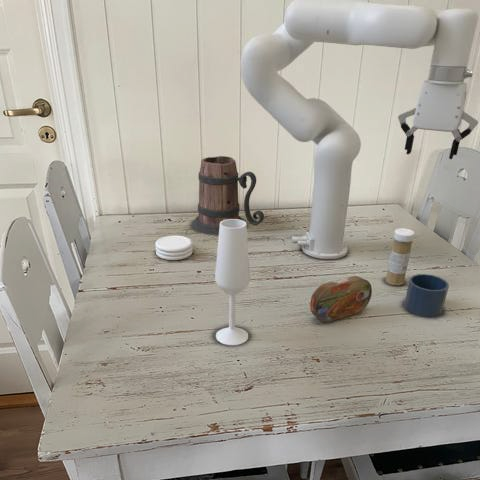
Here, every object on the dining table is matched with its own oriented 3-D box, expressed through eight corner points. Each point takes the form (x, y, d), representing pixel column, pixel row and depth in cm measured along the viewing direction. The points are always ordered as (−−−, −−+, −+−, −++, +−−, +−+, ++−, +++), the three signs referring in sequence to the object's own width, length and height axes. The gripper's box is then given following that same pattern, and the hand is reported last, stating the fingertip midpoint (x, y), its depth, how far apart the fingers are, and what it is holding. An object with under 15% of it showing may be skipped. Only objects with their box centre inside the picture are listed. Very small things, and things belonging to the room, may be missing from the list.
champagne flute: (237, 348, 96) (239, 233, 83) (209, 338, 99) (206, 225, 86) (254, 333, 100) (258, 221, 88) (227, 323, 103) (227, 214, 91)
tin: (314, 326, 103) (318, 291, 99) (306, 319, 105) (309, 284, 101) (369, 310, 109) (375, 276, 105) (360, 304, 112) (366, 271, 107)
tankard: (181, 228, 150) (178, 162, 140) (208, 212, 163) (207, 150, 153) (250, 242, 142) (252, 173, 131) (273, 224, 154) (276, 160, 144)
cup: (412, 317, 107) (418, 291, 103) (398, 299, 114) (404, 274, 110) (448, 316, 107) (455, 290, 104) (432, 298, 114) (438, 273, 111)
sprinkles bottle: (395, 276, 124) (405, 226, 117) (408, 284, 120) (419, 232, 113) (381, 280, 122) (390, 229, 115) (393, 287, 119) (404, 235, 112)
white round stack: (149, 257, 132) (148, 245, 130) (167, 244, 140) (166, 232, 138) (182, 263, 129) (181, 251, 127) (198, 249, 137) (198, 238, 135)
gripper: (490, 76, 107) (469, 156, 116) (408, 72, 113) (395, 148, 122) (488, 79, 101) (467, 163, 110) (403, 74, 107) (389, 154, 116)
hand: (429, 155), depth 116 cm, fingers open, 9 cm apart
